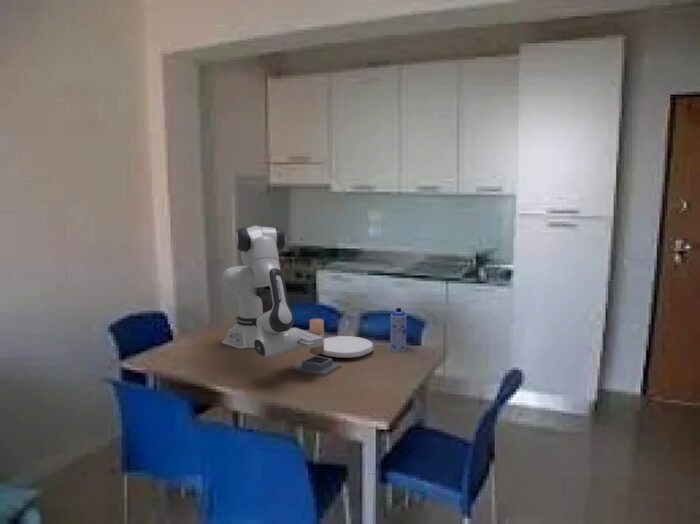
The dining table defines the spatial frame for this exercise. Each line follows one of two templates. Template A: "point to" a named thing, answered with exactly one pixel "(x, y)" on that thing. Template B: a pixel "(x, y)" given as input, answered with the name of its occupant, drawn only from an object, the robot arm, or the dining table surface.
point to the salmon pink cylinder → (317, 329)
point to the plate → (346, 346)
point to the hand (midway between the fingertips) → (318, 334)
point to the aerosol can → (398, 331)
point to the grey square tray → (317, 366)
